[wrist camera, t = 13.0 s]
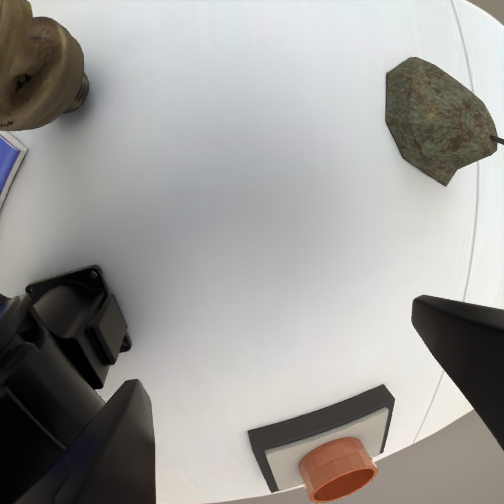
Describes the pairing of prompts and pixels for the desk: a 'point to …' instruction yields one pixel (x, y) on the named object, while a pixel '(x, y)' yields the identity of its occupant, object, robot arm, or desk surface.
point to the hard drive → (9, 161)
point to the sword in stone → (437, 120)
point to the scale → (321, 435)
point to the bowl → (336, 469)
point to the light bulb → (37, 69)
